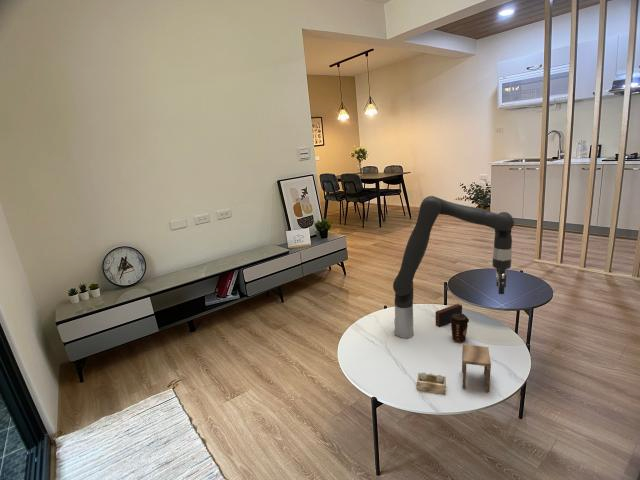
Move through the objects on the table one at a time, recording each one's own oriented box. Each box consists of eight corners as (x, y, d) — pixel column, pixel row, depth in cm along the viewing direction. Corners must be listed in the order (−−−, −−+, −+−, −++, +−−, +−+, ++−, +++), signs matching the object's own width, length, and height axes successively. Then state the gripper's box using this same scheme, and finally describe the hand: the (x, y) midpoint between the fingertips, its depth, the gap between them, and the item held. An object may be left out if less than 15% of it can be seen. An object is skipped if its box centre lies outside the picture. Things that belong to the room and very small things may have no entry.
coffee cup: (465, 334, 182) (466, 312, 178) (470, 344, 174) (471, 320, 170) (448, 335, 183) (448, 312, 179) (452, 344, 175) (452, 320, 171)
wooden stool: (462, 388, 145) (463, 360, 141) (462, 370, 155) (462, 344, 152) (489, 392, 141) (490, 364, 137) (487, 373, 152) (488, 347, 148)
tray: (417, 389, 146) (416, 378, 145) (418, 380, 152) (418, 369, 150) (445, 394, 142) (445, 382, 141) (445, 384, 148) (445, 373, 146)
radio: (457, 316, 200) (458, 292, 195) (461, 319, 197) (462, 294, 193) (432, 326, 192) (432, 301, 188) (436, 328, 190) (436, 303, 185)
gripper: (491, 251, 167) (489, 283, 171) (494, 262, 154) (492, 296, 158) (509, 252, 164) (507, 284, 169) (513, 262, 151) (511, 297, 156)
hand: (500, 290), depth 163 cm, fingers open, 8 cm apart
